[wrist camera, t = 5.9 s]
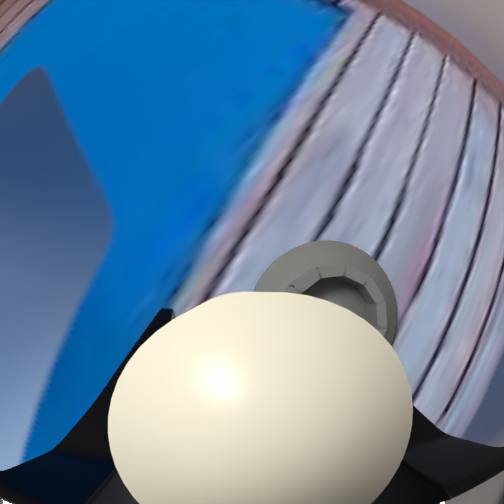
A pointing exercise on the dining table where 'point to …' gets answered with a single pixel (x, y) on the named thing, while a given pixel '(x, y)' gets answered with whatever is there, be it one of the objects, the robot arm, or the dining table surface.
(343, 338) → the candle
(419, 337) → the dining table surface
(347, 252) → the holder
